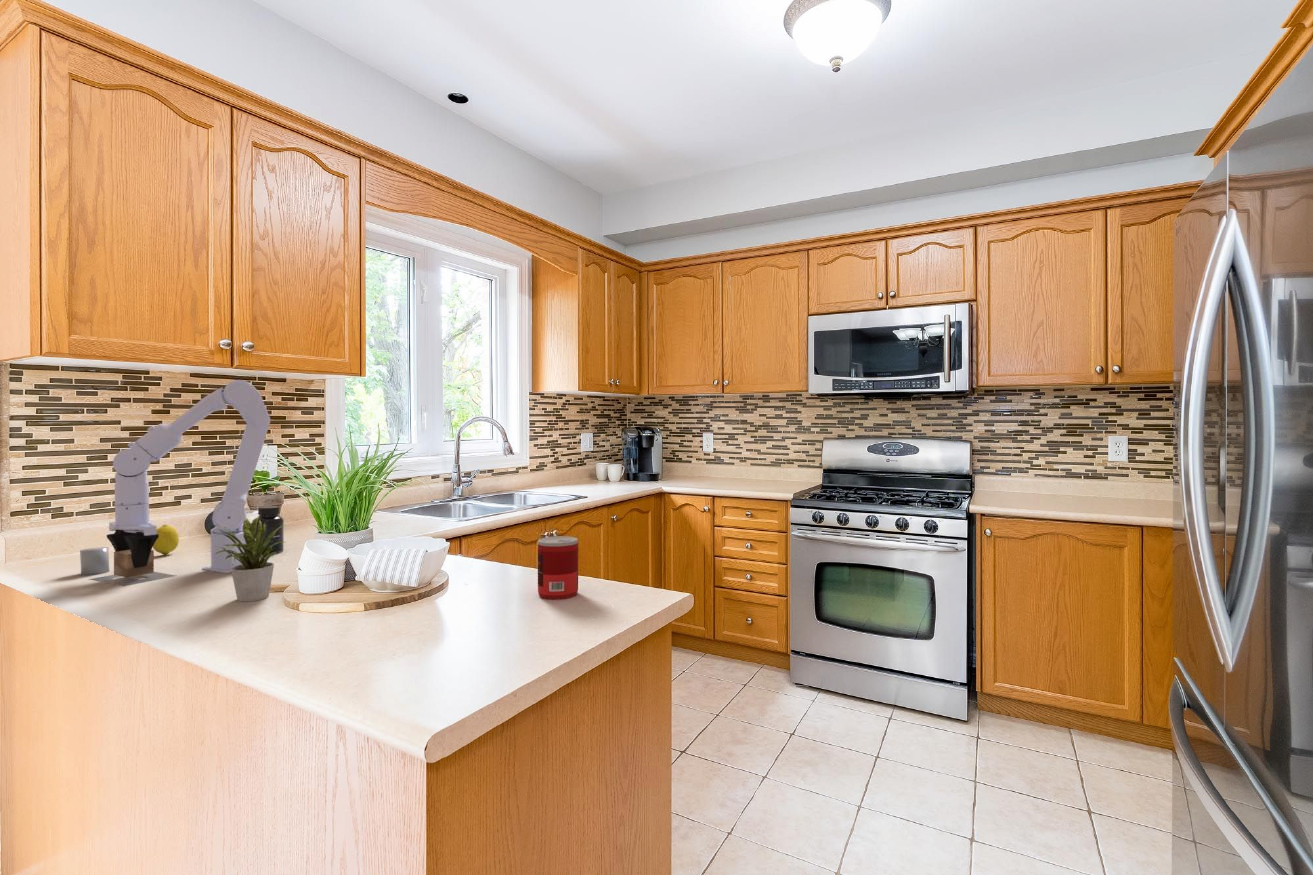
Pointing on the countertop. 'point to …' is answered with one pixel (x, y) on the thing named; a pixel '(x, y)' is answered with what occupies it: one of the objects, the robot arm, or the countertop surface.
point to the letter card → (132, 578)
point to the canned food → (557, 567)
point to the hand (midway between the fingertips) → (133, 565)
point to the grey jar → (94, 561)
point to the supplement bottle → (272, 527)
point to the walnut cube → (131, 564)
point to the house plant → (251, 562)
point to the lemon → (166, 540)
